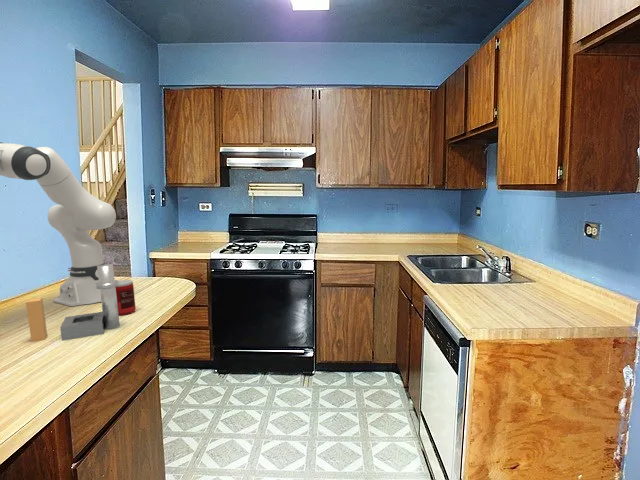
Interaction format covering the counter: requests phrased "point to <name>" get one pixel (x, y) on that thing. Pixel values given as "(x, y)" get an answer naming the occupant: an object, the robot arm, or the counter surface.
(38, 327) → the tall orange pillar block
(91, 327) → the grey socket with post
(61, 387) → the counter surface
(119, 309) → the canned food
